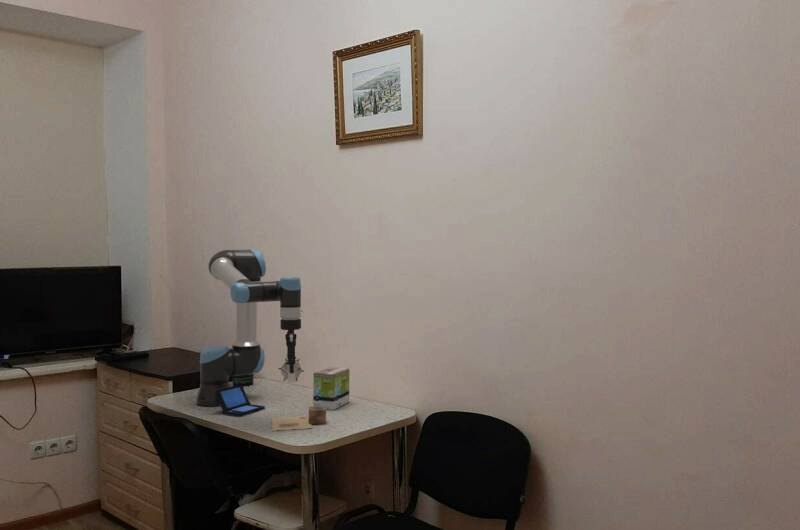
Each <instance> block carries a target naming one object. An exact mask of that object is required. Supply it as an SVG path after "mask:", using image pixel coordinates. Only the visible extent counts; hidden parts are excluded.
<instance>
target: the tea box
mask: <svg viewBox="0 0 800 530" xmlns="http://www.w3.org/2000/svg"><path fill="white" fill-rule="evenodd" d="M312 388H313V390H312V394H313V396H312V397H313V400H312V407H325V408H326V410H331V411H335V410H336V409H338V408H341V407H342V406H344V405H346V403H347V404H349V403H350V368H347V367H346V368H345V367H331V366H329V367H326V368H323V369H321V370H318V371H315V372H313V387H312ZM348 402H349V403H348Z"/></svg>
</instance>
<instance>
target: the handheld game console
mask: <svg viewBox="0 0 800 530" xmlns="http://www.w3.org/2000/svg"><path fill="white" fill-rule="evenodd" d="M246 393H247V392H246V391H245V390H244V387H242V386H241V385H237V386H233V385H232V386H230V387H229V388H224V389H220V390H217V391H216V392H215V394H216V396H217V399H218V401H219V403H220V405H221V406H220V407H221V410H222V414H227V415H226V416H231V415H233V416H232V417H237V416H241V417H245V416H247V414H248V415H251V414H254V413H257V412H259V411H260V410H261V411H264V410H265V409H266V406H265V405H257V404H252V403H251V402H250V400H249V398H248V396H247V394H246ZM263 409H264V410H263ZM250 413H251V414H250ZM244 415H245V416H244Z"/></svg>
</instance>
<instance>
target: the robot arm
mask: <svg viewBox="0 0 800 530" xmlns="http://www.w3.org/2000/svg"><path fill="white" fill-rule="evenodd" d="M207 266H208V271H209V275H211V277H212V278H214V279H216V280H217V281H218V280H219V281H221V282H222V283H223V284H224V286H226V287H227V288H228V289H229V290H230V299H231V301H232V302H233V303H236V306H235V307H236V310H235V311H236V312H235V314H236V316H235V317H236V318H235V320H236V321H235V323H236V324H235V325H236V326H235V329H236V330H235V341H233V342H232V348H230V347H229V346H228V345H218V346H217V345H216V346H212V347H208V348H205V349H203V350H202V351H201V352H200V355H199V357H200V358H199V366H200V367H199V368H200V370H199V373H200V374H199V375H200V379H199V381H200V382H199V383H200V384H199V385H200V386H199V389H198V392H197V396H196V398H195V400H196V402H195V404H196V403H197V404H199V405H198V406H200V405H205V406H204V407H219V406H218V405H220V403H219V401H218V399H217V396H216V394H215V392H216V391H217V390H220V389H224V388H229V387H231V385H230V377H233V376H237V375H246V374H249V375H250V374H253V375H255V374H258V373H260V372H261V371H262V370H263V368H264V365H265V359H266V356H265V349H264V348H263V346H261V344H260V342H259V340H257V322H258V321H257V319H258V318H257V314H258V309H257V308H258V304H257V303H263V302H264V303H267V302H279V305H280V306H279V310H280V311H279V316H280V317H279V318H281V319H280V320H279V321H280V330H281V331H282V330H283V331H287V332H286V334H285V335H284V337H285V338H284V339H285V344H286V349H287V352H286V353H287V354H286V359H287V360H288V362H286V361H285V362H286V364H288V380H287V383H296V382H297V381H296V378H295V362H296V361H295V360H297V356H296V346H297V334H296V333H295V330H296V331H298V330H301V329H302V319H301V317H302V312H303V309H302V307H301V305H302V300H301V299H302V284H301V278H300V277H299V276H281V278H280V280H273V281H262V280H261V278H263V277H264V276H265V275H266V272H267V271H266V269H267V267H266V260H265V258H264V255H263V253H262V252H261V251H259V250H256V249H224V250H221V251H218V252H216V253H214V255H212V256H211V258H210V259H209V262H208V265H207ZM197 404H196V405H197Z"/></svg>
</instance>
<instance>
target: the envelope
mask: <svg viewBox="0 0 800 530" xmlns="http://www.w3.org/2000/svg"><path fill="white" fill-rule="evenodd" d="M308 417H309V415H302V416H300V415H299V416H285V417H272V423H271V424H272V432H278V431H277V430H284V431H293V430H292V429H301V430H308V429H307V428H312V429H313V426H312V425H313V424H309V421H308Z"/></svg>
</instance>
